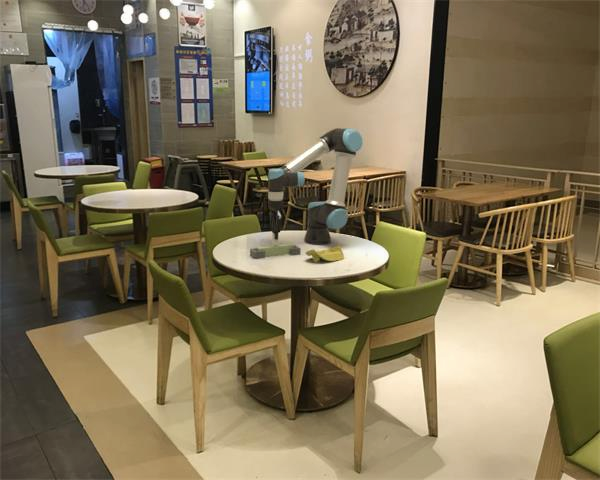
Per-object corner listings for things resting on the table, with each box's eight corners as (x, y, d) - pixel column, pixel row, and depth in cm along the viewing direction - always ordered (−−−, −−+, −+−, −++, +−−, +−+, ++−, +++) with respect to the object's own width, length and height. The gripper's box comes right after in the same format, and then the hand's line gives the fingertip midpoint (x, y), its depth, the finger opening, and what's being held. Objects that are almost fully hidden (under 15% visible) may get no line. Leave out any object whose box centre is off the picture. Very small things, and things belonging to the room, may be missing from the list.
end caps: (294, 251, 275) (295, 244, 274) (300, 254, 269) (300, 248, 268) (250, 255, 265) (250, 248, 265) (254, 258, 259) (254, 252, 258)
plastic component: (327, 249, 270) (341, 244, 263) (331, 263, 269) (345, 258, 262) (301, 253, 256) (315, 248, 249) (305, 267, 255) (319, 263, 248)
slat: (258, 258, 261) (258, 248, 260) (256, 256, 264) (256, 247, 263) (294, 254, 270) (294, 244, 269) (291, 252, 273) (291, 243, 272)
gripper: (287, 201, 256) (286, 247, 261) (278, 197, 267) (277, 241, 273) (273, 202, 253) (272, 248, 258) (264, 198, 265) (264, 242, 270)
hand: (275, 244), depth 266 cm, fingers closed
